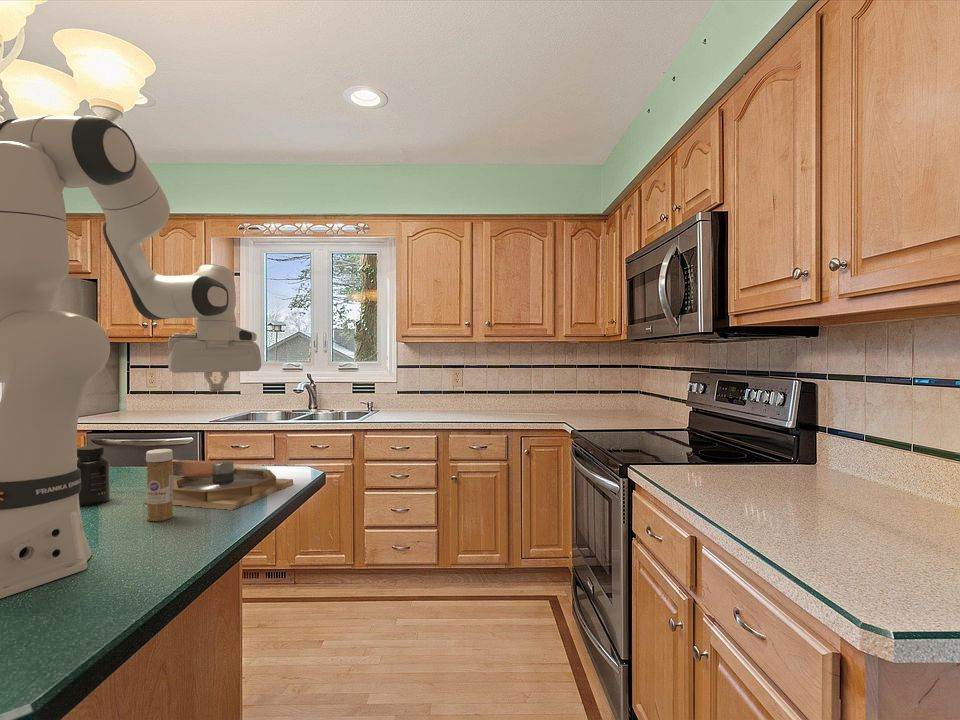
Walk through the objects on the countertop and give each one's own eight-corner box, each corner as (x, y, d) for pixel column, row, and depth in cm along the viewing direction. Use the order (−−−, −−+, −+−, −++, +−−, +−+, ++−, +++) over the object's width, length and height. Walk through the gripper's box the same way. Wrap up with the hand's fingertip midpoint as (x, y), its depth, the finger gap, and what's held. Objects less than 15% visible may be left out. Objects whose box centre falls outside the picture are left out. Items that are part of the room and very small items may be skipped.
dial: (277, 479, 133) (277, 457, 133) (232, 498, 116) (231, 472, 116) (201, 475, 137) (201, 453, 137) (147, 493, 121) (147, 468, 121)
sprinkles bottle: (143, 523, 105) (142, 453, 105) (150, 516, 109) (149, 448, 109) (170, 520, 106) (169, 451, 106) (176, 514, 111) (175, 447, 110)
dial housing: (232, 510, 113) (231, 494, 113) (144, 503, 119) (144, 487, 118) (293, 484, 135) (293, 470, 134) (216, 479, 140) (216, 466, 140)
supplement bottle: (63, 505, 117) (62, 449, 117) (95, 496, 124) (94, 443, 124) (86, 508, 115) (85, 451, 115) (117, 499, 122) (116, 445, 121)
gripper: (169, 332, 124) (170, 393, 124) (263, 334, 137) (263, 389, 137) (164, 333, 129) (165, 392, 129) (255, 334, 141) (255, 388, 142)
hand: (216, 391), depth 133 cm, fingers closed
